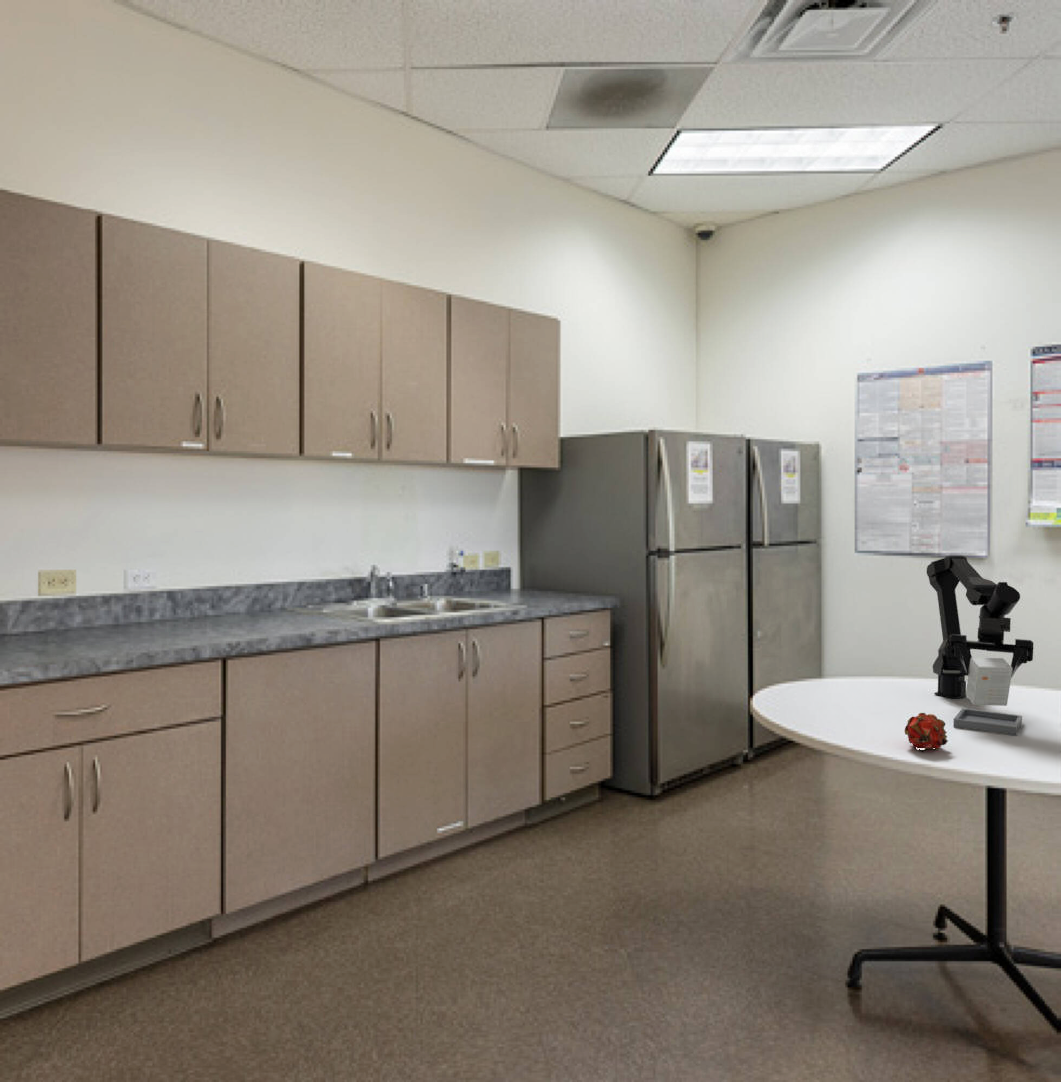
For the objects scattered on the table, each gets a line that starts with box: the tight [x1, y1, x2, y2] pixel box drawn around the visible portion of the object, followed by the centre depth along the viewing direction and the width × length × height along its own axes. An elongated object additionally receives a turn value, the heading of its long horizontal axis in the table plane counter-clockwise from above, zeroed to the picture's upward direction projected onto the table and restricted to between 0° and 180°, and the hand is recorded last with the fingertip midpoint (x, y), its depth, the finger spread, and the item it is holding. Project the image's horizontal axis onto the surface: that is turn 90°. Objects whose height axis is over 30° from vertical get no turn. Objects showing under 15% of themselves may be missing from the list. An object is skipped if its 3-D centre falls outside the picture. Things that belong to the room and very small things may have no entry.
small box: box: [966, 657, 1013, 707], centre depth 212 cm, size 8×6×10 cm
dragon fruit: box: [904, 712, 949, 750], centre depth 193 cm, size 8×8×12 cm
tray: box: [953, 707, 1023, 736], centre depth 213 cm, size 14×14×2 cm
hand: (988, 675), depth 211 cm, fingers closed on small box, 9 cm apart
